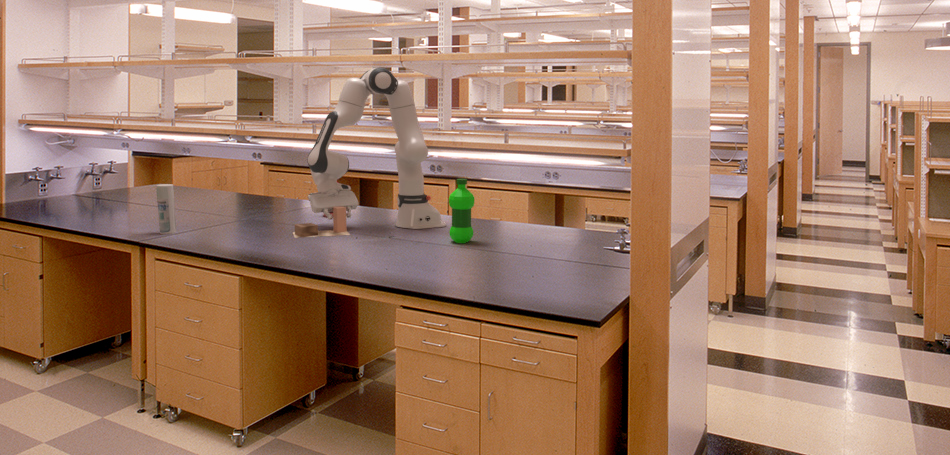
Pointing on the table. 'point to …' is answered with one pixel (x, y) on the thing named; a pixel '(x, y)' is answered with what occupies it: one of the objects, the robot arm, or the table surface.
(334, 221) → the terracotta pillar
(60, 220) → the table surface
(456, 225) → the plastic bottle
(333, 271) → the table surface
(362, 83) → the robot arm
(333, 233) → the birch base board
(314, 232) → the walnut plinth
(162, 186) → the spray can
